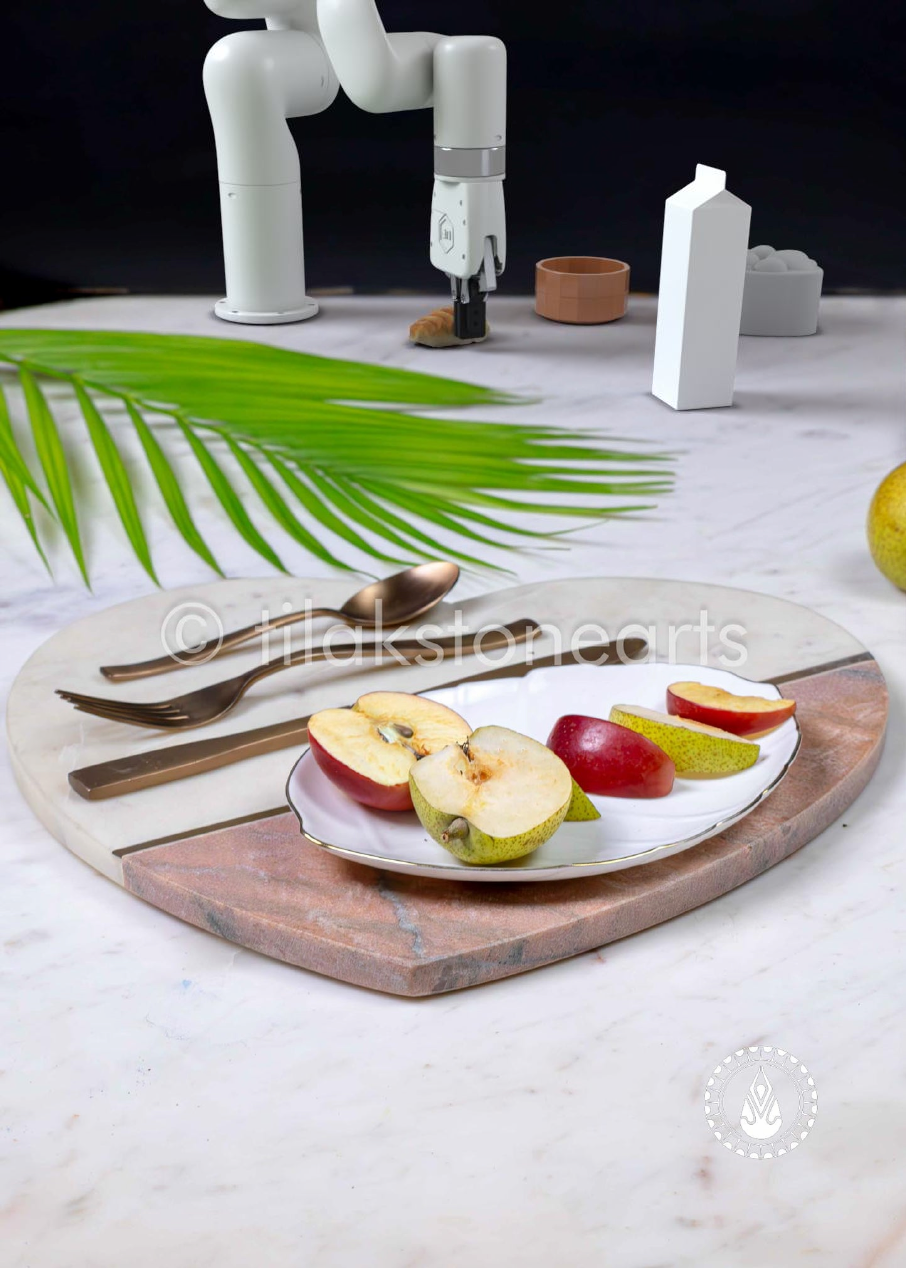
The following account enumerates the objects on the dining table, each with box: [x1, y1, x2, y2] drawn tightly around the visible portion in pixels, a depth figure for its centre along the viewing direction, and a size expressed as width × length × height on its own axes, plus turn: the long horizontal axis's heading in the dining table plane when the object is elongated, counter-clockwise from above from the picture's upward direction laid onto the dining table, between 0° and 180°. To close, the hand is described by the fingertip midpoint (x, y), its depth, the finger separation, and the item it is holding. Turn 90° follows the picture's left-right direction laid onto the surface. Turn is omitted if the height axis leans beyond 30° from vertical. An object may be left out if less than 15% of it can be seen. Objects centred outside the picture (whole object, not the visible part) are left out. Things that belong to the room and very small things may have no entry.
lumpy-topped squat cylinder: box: [739, 244, 824, 337], centre depth 161 cm, size 10×13×9 cm
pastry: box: [408, 305, 491, 348], centre depth 154 cm, size 9×7×4 cm
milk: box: [651, 163, 752, 411], centre depth 130 cm, size 6×6×22 cm
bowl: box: [533, 256, 631, 325], centre depth 166 cm, size 11×11×6 cm
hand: (469, 336), depth 151 cm, fingers closed
